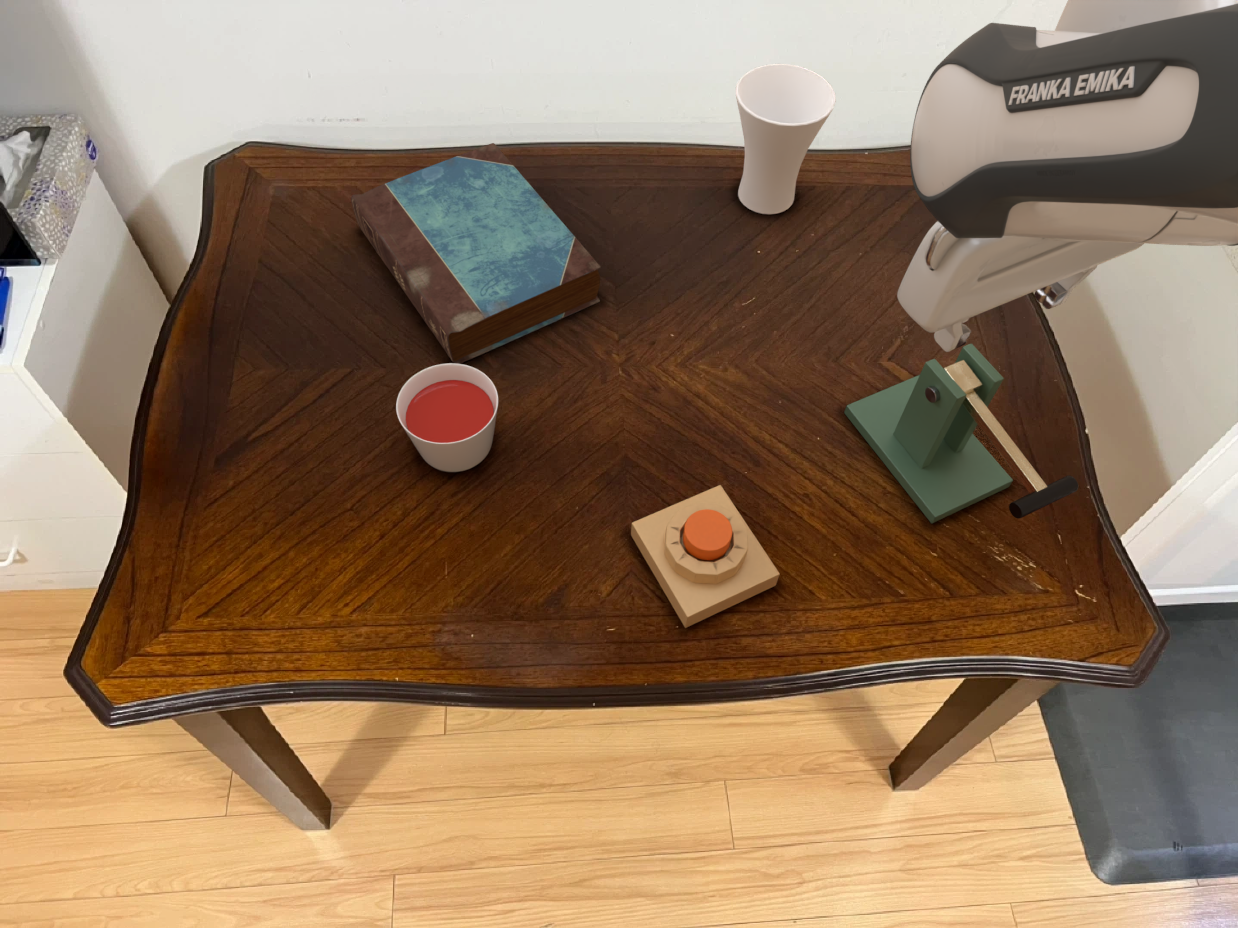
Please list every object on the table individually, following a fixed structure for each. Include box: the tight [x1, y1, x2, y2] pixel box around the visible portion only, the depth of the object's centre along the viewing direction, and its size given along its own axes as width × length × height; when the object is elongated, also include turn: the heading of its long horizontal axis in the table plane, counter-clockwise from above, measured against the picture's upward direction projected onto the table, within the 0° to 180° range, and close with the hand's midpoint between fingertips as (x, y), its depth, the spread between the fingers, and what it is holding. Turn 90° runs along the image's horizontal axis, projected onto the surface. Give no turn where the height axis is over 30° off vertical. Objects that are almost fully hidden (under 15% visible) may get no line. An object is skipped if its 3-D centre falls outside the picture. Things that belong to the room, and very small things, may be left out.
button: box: [683, 509, 732, 560], centre depth 80 cm, size 4×4×2 cm
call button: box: [630, 484, 781, 629], centre depth 82 cm, size 10×9×4 cm
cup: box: [735, 63, 837, 215], centre depth 104 cm, size 10×10×14 cm
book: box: [350, 142, 601, 364], centre depth 101 cm, size 23×18×5 cm
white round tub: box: [395, 362, 499, 473], centre depth 87 cm, size 9×9×6 cm
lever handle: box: [943, 360, 1079, 520], centre depth 80 cm, size 14×6×2 cm, turn 27°
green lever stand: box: [843, 343, 1014, 524], centre depth 86 cm, size 14×9×12 cm, turn 27°
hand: (998, 321), depth 70 cm, fingers open, 8 cm apart
